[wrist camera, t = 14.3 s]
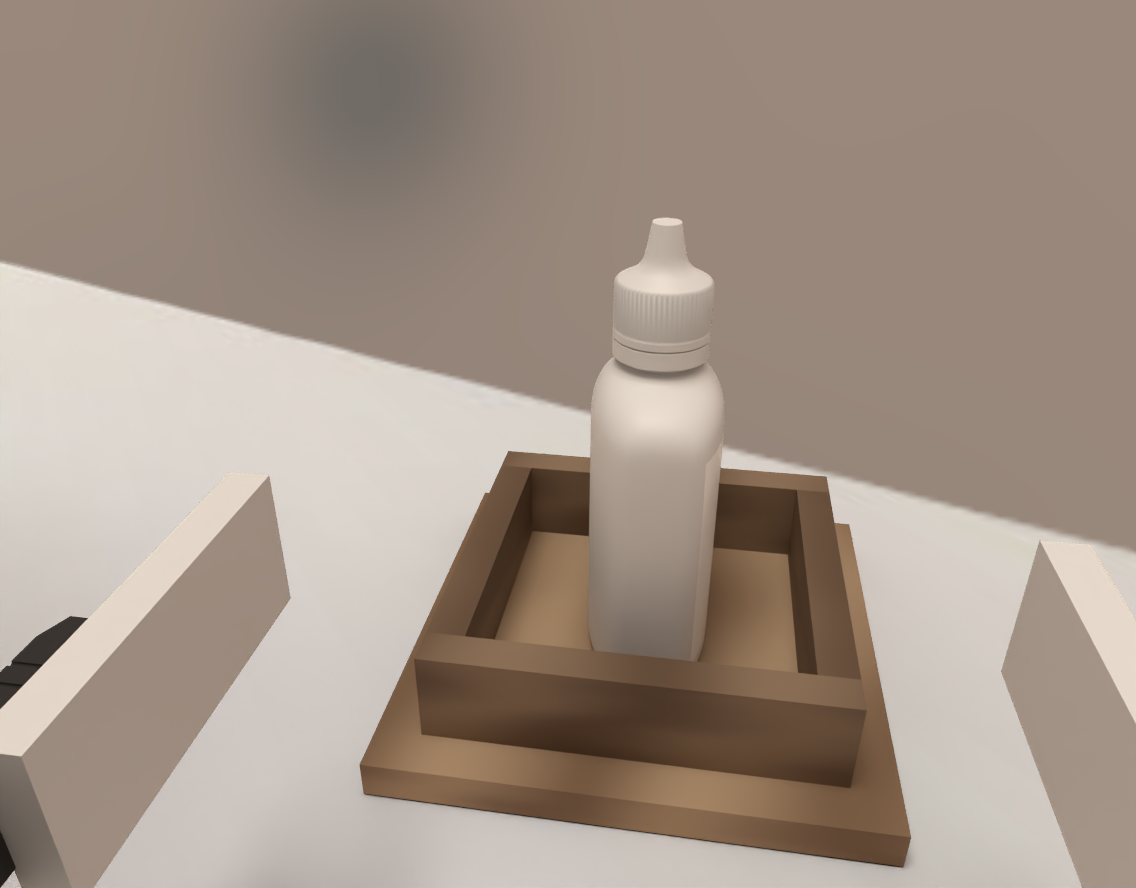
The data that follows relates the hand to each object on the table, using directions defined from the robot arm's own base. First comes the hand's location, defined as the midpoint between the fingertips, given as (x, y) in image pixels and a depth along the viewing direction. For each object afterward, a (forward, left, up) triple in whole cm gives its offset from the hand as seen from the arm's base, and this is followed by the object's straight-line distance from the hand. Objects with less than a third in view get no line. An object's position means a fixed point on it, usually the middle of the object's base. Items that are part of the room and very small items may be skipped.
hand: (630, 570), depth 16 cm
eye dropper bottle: (-6, +6, -8) cm, 12 cm away
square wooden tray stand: (-6, +6, -9) cm, 12 cm away
